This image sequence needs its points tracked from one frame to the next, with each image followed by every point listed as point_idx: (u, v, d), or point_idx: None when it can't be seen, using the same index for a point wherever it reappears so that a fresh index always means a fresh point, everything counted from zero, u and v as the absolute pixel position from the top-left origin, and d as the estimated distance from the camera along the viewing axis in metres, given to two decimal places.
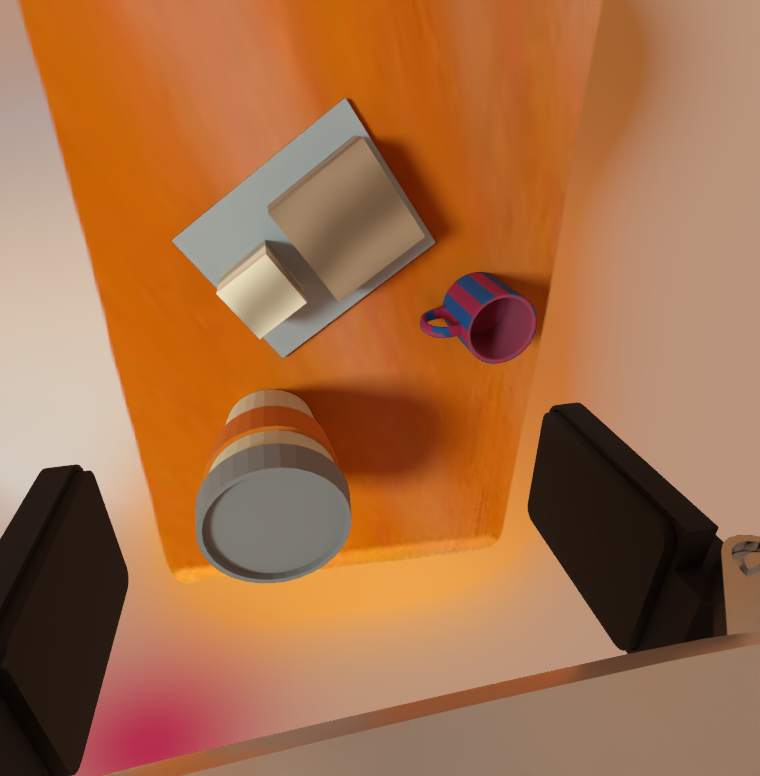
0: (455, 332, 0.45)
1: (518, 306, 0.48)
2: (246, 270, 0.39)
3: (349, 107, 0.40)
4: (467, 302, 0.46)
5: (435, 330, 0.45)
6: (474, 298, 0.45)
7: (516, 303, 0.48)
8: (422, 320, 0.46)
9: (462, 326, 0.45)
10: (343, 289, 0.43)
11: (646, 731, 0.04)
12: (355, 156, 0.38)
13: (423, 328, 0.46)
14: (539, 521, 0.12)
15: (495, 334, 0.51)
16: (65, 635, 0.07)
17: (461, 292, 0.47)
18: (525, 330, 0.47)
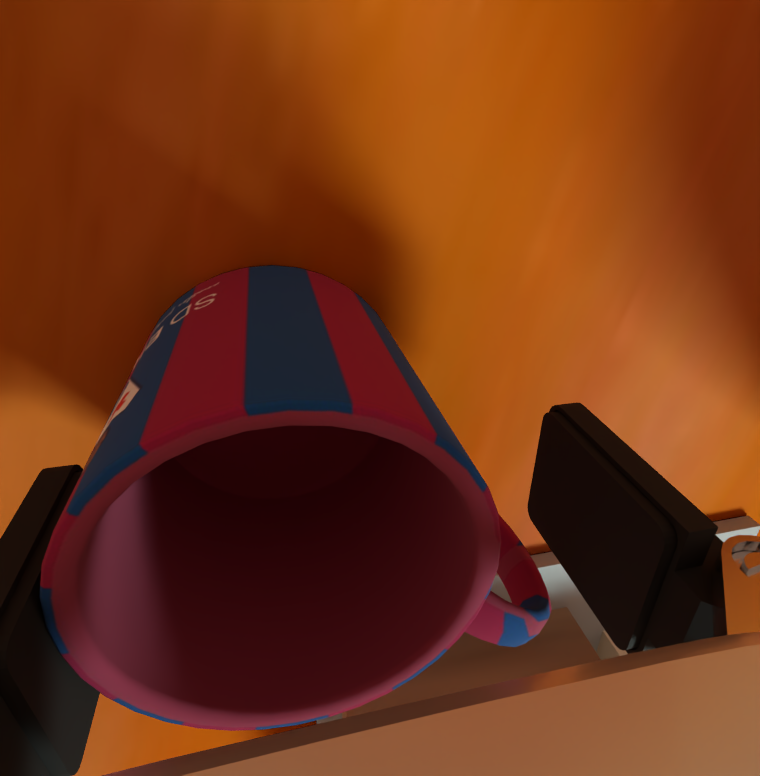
0: (483, 620, 0.10)
1: None
2: None
3: None
4: None
5: None
6: None
7: None
8: None
9: None
10: None
11: (646, 731, 0.04)
12: None
13: None
14: (539, 521, 0.12)
15: None
16: None
17: None
18: None
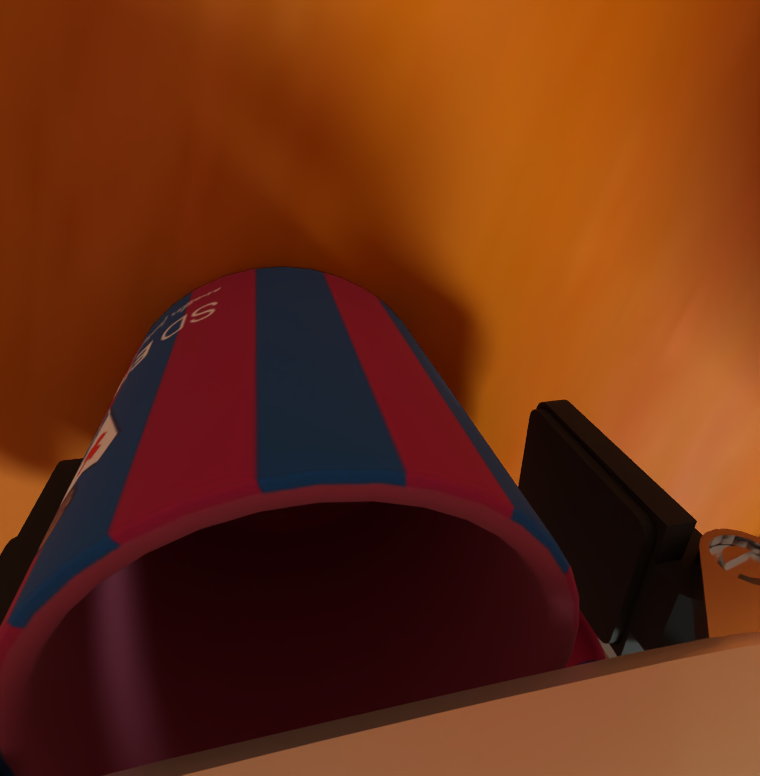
0: None
1: None
2: None
3: None
4: None
5: None
6: None
7: None
8: None
9: None
10: None
11: (646, 730, 0.04)
12: None
13: None
14: None
15: None
16: None
17: None
18: None
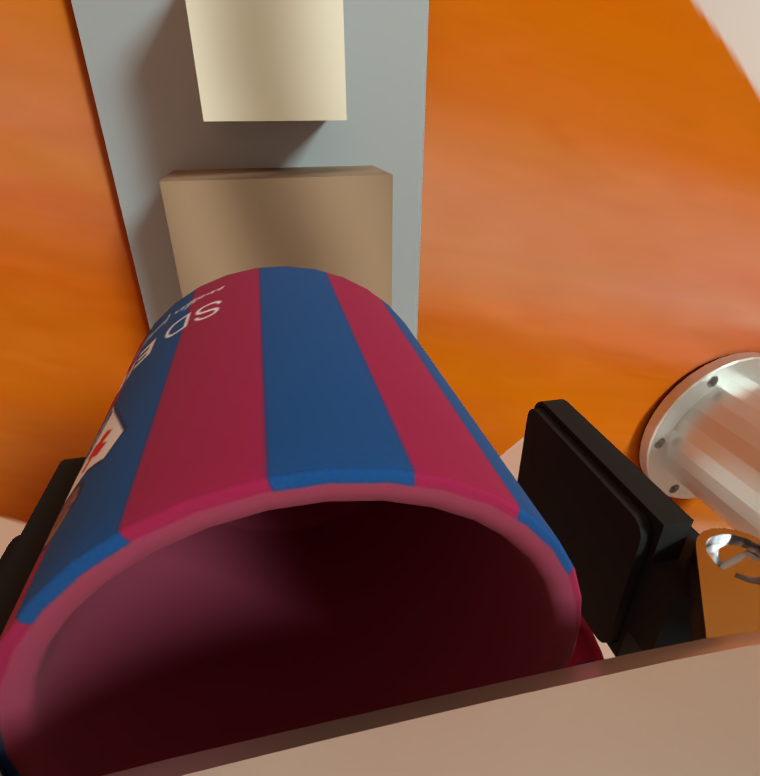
0: None
1: None
2: (342, 55, 0.17)
3: None
4: None
5: None
6: None
7: None
8: None
9: None
10: (182, 207, 0.20)
11: (646, 732, 0.04)
12: None
13: None
14: None
15: None
16: None
17: None
18: None
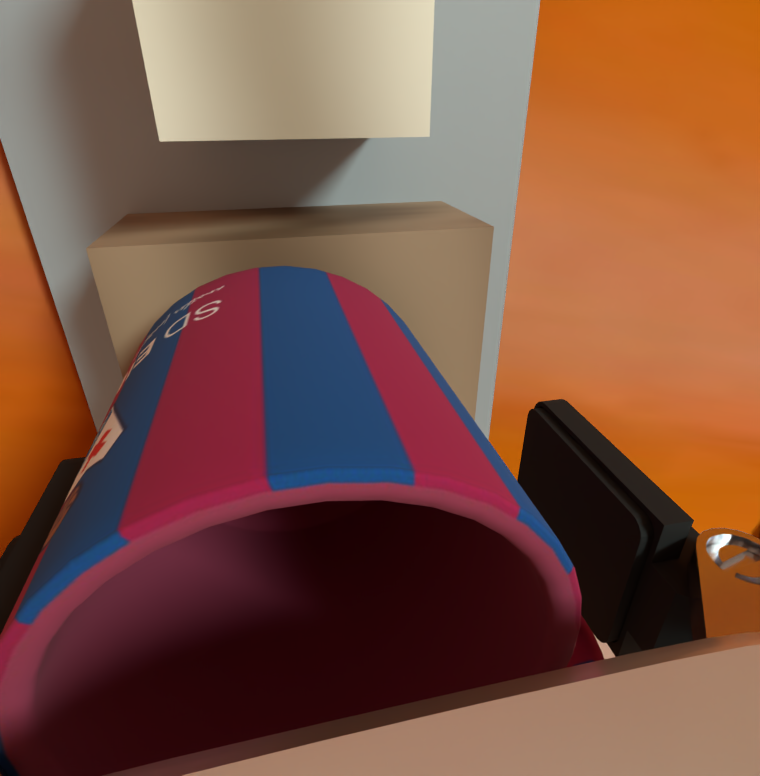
0: None
1: None
2: (430, 11, 0.09)
3: None
4: None
5: None
6: None
7: None
8: None
9: None
10: (131, 290, 0.11)
11: (645, 732, 0.04)
12: None
13: None
14: None
15: None
16: None
17: None
18: None
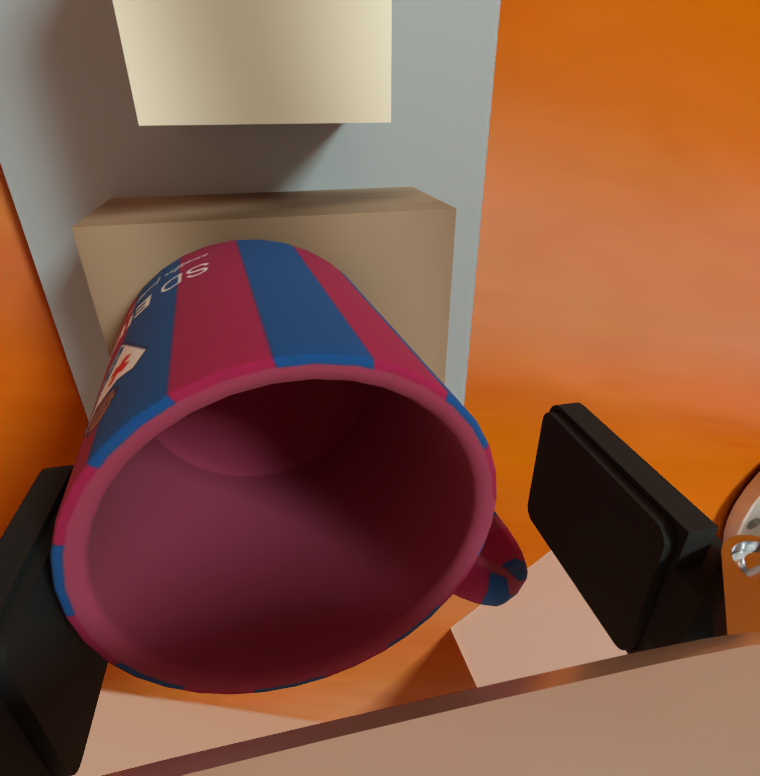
0: (470, 580, 0.10)
1: None
2: (388, 5, 0.10)
3: None
4: None
5: None
6: None
7: None
8: None
9: None
10: (115, 268, 0.12)
11: (644, 730, 0.04)
12: None
13: None
14: (539, 521, 0.12)
15: None
16: (65, 635, 0.07)
17: None
18: None
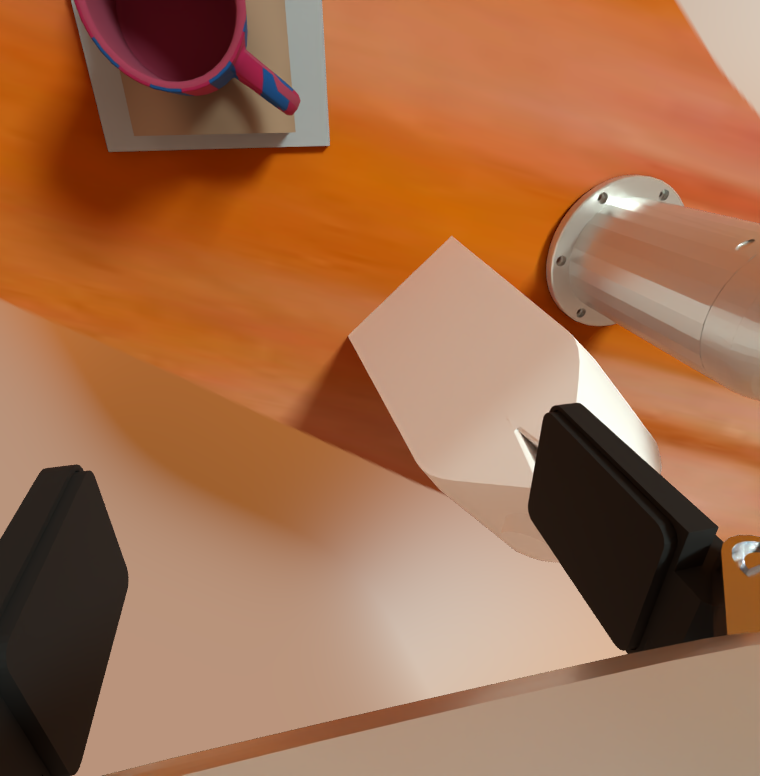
0: (253, 70, 0.23)
1: None
2: None
3: (319, 143, 0.34)
4: (201, 91, 0.24)
5: (284, 102, 0.24)
6: (186, 93, 0.24)
7: None
8: None
9: (234, 67, 0.23)
10: None
11: (645, 731, 0.04)
12: None
13: (297, 108, 0.25)
14: (539, 521, 0.12)
15: None
16: (65, 635, 0.07)
17: (199, 93, 0.26)
18: None
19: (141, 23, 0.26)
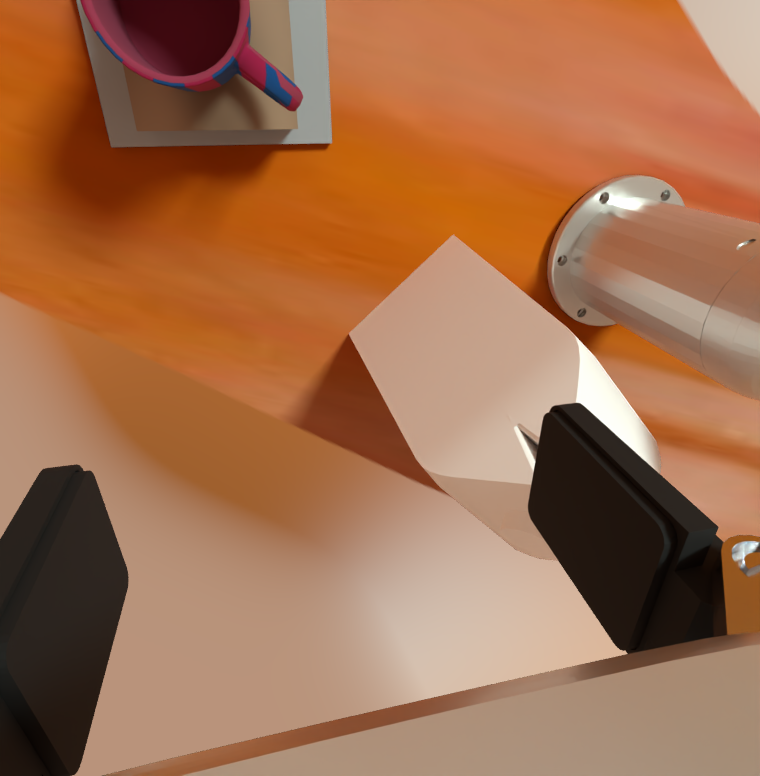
0: (256, 65, 0.23)
1: None
2: None
3: (321, 141, 0.34)
4: (204, 86, 0.24)
5: (286, 98, 0.24)
6: (189, 88, 0.24)
7: None
8: None
9: (237, 63, 0.23)
10: None
11: (645, 731, 0.04)
12: None
13: None
14: (539, 521, 0.12)
15: None
16: (65, 635, 0.07)
17: (202, 89, 0.26)
18: None
19: (145, 18, 0.26)
